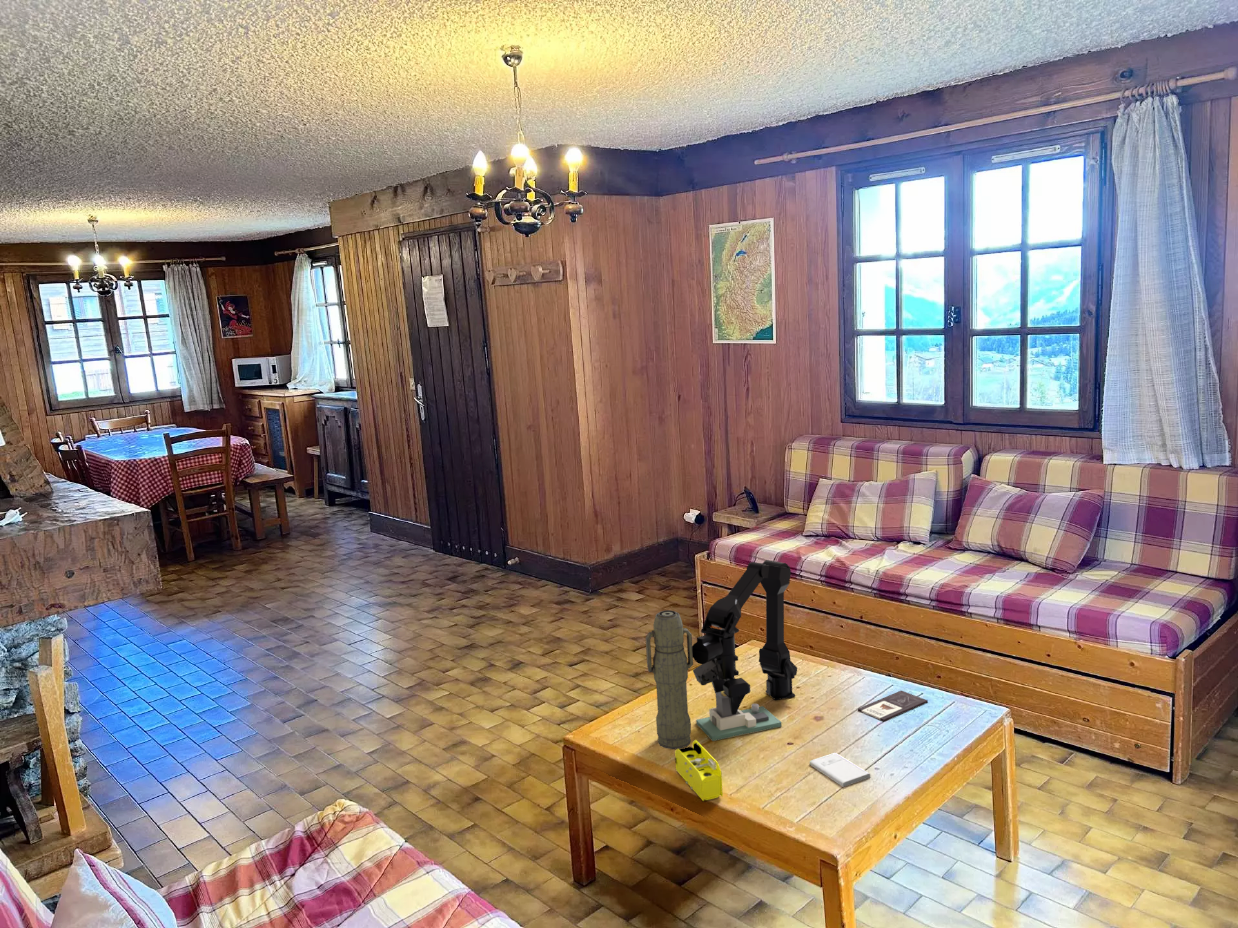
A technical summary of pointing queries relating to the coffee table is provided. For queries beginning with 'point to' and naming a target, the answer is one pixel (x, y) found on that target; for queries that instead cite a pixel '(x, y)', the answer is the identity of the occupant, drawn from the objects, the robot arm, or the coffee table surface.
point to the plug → (723, 705)
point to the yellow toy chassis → (699, 771)
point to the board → (738, 723)
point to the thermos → (671, 678)
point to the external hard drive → (839, 769)
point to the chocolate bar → (892, 705)
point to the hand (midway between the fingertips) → (726, 707)
